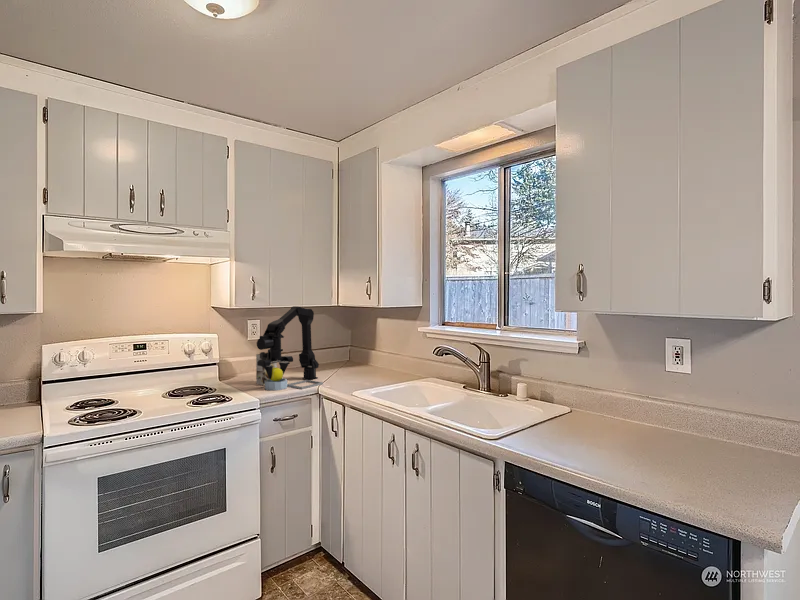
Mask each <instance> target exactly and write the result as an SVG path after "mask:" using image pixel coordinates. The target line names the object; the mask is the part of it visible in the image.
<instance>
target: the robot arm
mask: <svg viewBox="0 0 800 600" xmlns="http://www.w3.org/2000/svg"><path fill="white" fill-rule="evenodd" d="M314 312H315V311H314V310H313V309H311V308H304V307H301V306H299V305H298V306H297V305H295V306H292V307H290V309H289V310H288V311H286V312H285V313H284V314H283V315H282V316H281V317H279V318H278V319H276V320H272V321H271V322H269V323H268V324H267V327H266V329H265V331H264V332H263V335H259V338H258V339H257V341H256V346H257V349H259V350H260V351H261V352H259V354H260V359H262V360H258V362H257V366H261V367H264V368H265V370H266V372H267V374H268V377H269V379H271V377H272V369H273V366H271V363H277V364H278V365H279V368H280V369H281V370H282V371H283V375H284V374H285V372H286V370H287V369H288V366H289V365H290V364H291V363H292V362H294V358H293V356H292V355H282V352H283V351H284V349H283V348H282V339H284V337H285V336H284V335H283V334H282V333H283V332H284V331H285V330H286V326H287V325H288V324H289V323H290V322H292V321H293V319H295V318H296V317H298V321H299V322H300V324H301V337H302V340H301V343H302V344H301V345H302V351H301V352H300V353H299V354H298V357H299V358H298V362H299V364H300V367H301V369H303V377H302V380H312V381H313V380H315V379H319V377H318V376H317V369H319V367H320V366H319V365H320V363H319V362H318V361H317V359H316V355H315V352H314V350H313V349H312V323H313V321H314V316H315V314H314ZM263 350H267V352H265V351H263Z"/></svg>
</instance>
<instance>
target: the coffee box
mask: <svg viewBox="0 0 800 600" xmlns="http://www.w3.org/2000/svg"><path fill="white" fill-rule="evenodd" d="M255 357H256V359H255V361H256V363H255V364H256V366H255V367H256V369H255V371H256V372H255V374H256V376H255V377H256V380H255V382H256V384H257V385H260V386H265V380H267V379H269V377H268V374H267V372H266V370H265V368H264V367H261V366H257V362H258V360H262V359H260V353H257V354H255ZM277 364H278V362H277V363H271V366H273V368H278V366H277Z"/></svg>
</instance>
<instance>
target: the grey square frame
mask: <svg viewBox="0 0 800 600" xmlns="http://www.w3.org/2000/svg"><path fill="white" fill-rule="evenodd" d="M304 383H311V384H309V385H305V386H300V385H299V384H304ZM298 385H299V386H298ZM321 385H324V382H323V381H317V380H313V379H312V380H307V379H303V380H300V381H295V382H290V383H287V388H293V389H298V390H304V389H309V388H313V387H317V386H321Z"/></svg>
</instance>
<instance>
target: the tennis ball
mask: <svg viewBox="0 0 800 600" xmlns="http://www.w3.org/2000/svg"><path fill="white" fill-rule="evenodd" d="M283 377H284V374H283V371H282V370H281V369H280V367H277V368H273V369H272V377H271V380H272V381H280V380H281V379H282V378H283Z"/></svg>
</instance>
